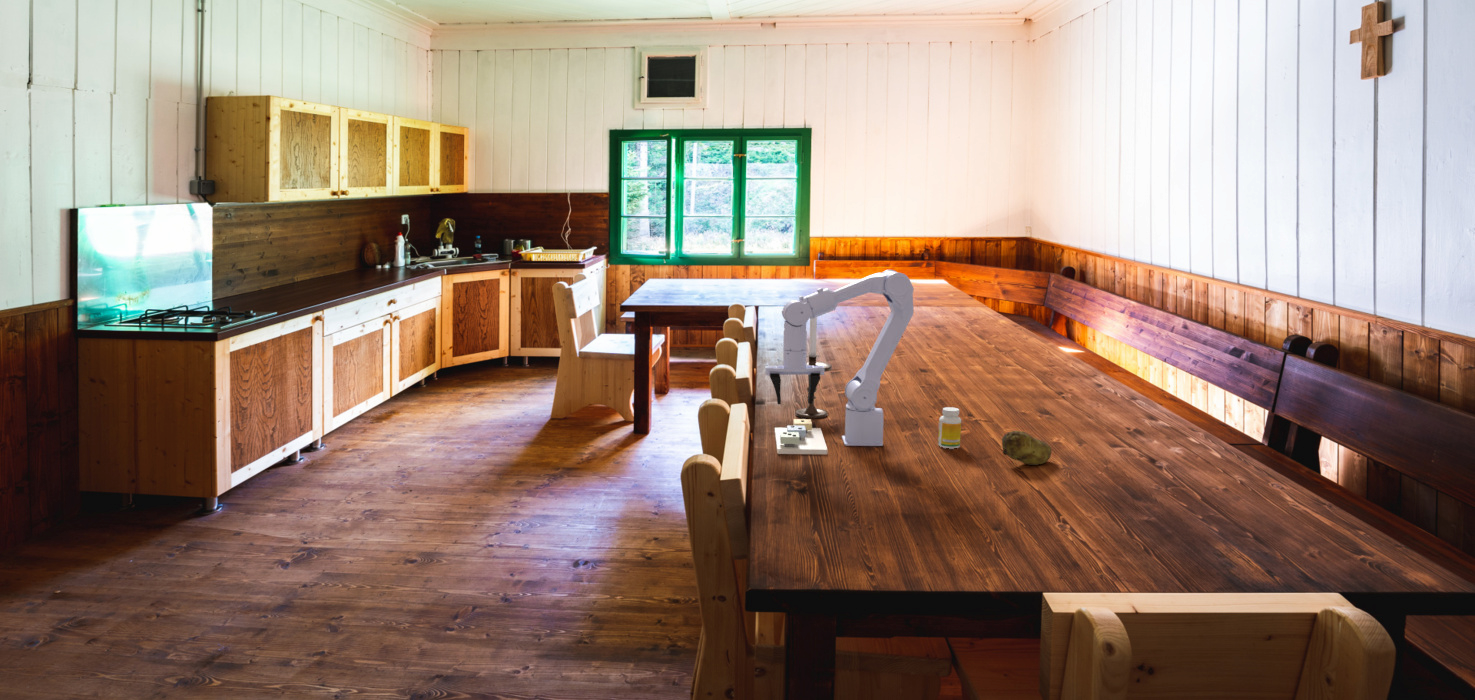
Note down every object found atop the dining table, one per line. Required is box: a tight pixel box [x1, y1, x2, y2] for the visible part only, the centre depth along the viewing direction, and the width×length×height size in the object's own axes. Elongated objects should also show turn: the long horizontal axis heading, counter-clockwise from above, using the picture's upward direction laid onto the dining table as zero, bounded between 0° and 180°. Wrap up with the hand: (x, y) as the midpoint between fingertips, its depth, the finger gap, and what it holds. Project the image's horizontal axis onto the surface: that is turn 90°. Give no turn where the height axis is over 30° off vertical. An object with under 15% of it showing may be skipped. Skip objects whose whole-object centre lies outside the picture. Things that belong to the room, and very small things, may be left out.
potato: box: [1001, 430, 1052, 466], centre depth 207 cm, size 8×13×8 cm, turn 96°
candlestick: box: [794, 291, 833, 420], centre depth 249 cm, size 11×11×35 cm
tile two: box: [786, 424, 806, 437], centre depth 223 cm, size 4×4×2 cm
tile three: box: [780, 432, 799, 444], centre depth 216 cm, size 4×4×2 cm
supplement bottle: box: [937, 406, 962, 450], centre depth 221 cm, size 5×5×10 cm
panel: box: [774, 427, 828, 455], centre depth 224 cm, size 12×20×2 cm, turn 0°
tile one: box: [792, 418, 813, 430], centre depth 229 cm, size 4×4×2 cm
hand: (794, 403), depth 222 cm, fingers open, 7 cm apart
